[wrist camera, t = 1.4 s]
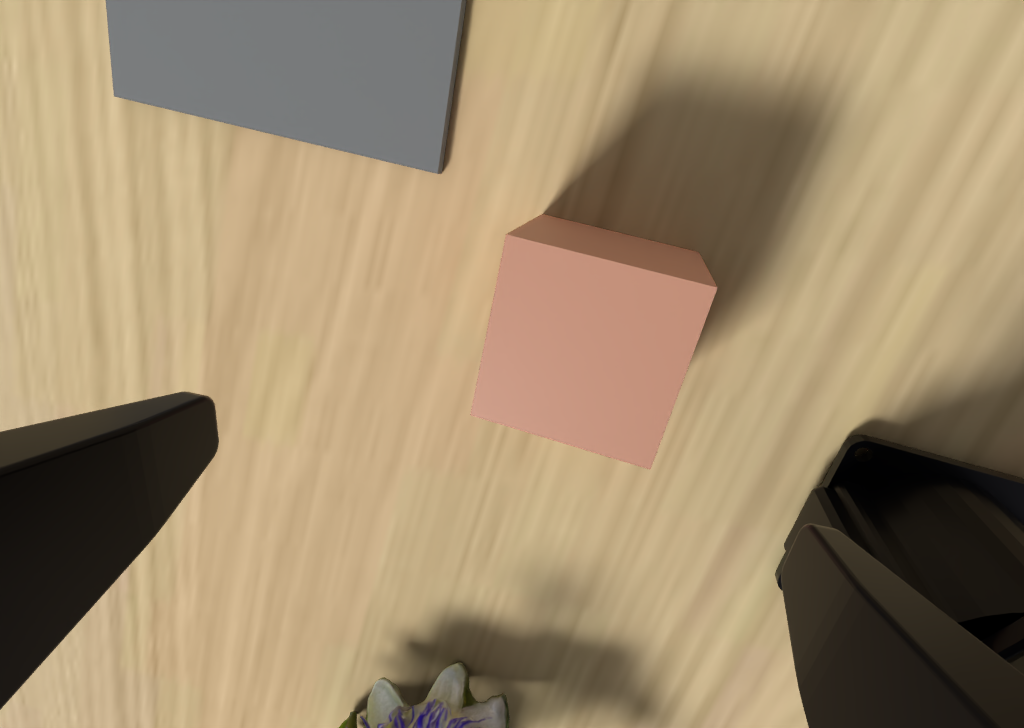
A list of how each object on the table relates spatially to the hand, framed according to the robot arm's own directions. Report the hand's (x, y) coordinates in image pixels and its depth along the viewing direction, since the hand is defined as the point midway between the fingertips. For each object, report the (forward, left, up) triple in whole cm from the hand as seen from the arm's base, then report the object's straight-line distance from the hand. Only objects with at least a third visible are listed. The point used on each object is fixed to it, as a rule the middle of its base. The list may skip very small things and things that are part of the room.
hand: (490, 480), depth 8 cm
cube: (-1, 0, -11) cm, 11 cm away
